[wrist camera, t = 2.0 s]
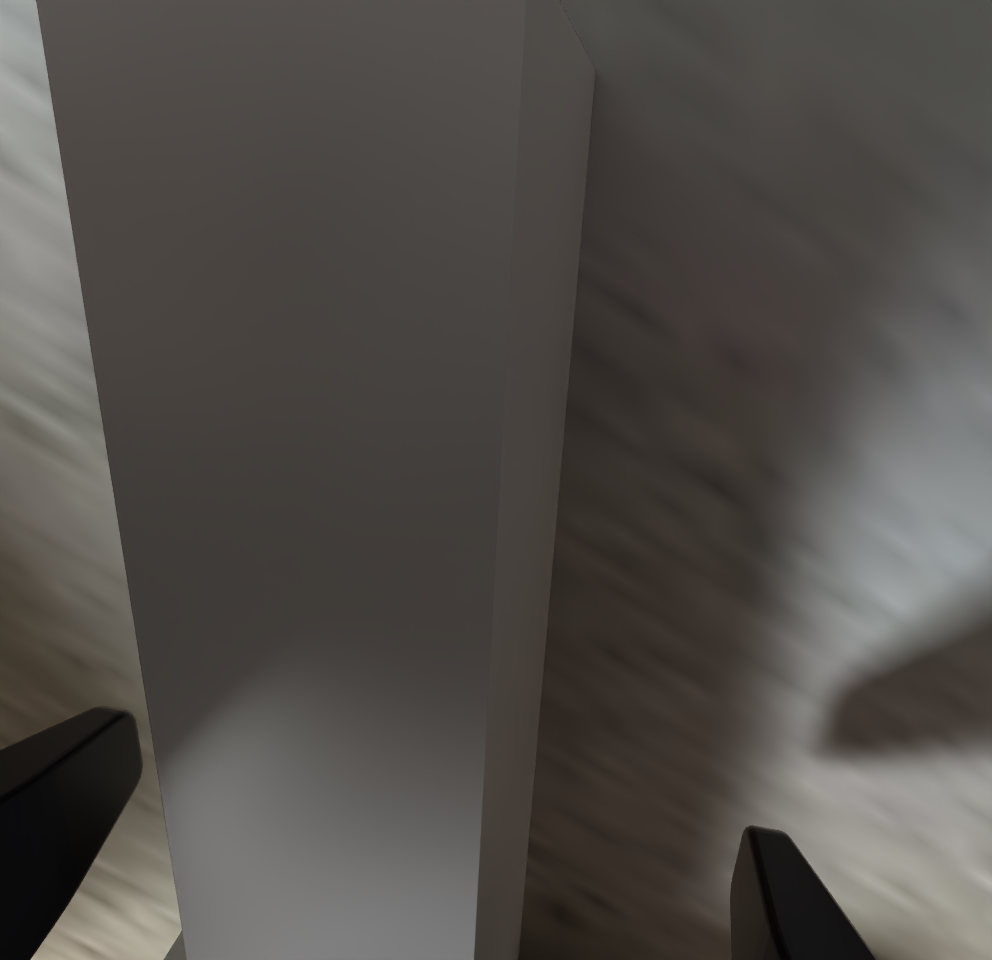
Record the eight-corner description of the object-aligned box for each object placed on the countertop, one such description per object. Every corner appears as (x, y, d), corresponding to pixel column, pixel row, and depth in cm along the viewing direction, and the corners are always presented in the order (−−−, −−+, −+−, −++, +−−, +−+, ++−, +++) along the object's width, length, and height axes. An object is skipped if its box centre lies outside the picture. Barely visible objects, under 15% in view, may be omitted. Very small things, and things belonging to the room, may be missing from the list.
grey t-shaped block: (926, 81, 6) (1296, -57, 3) (694, 1064, 11) (715, 1482, 8) (85, 57, 8) (-436, -59, 4) (209, 948, 13) (28, 1260, 9)
